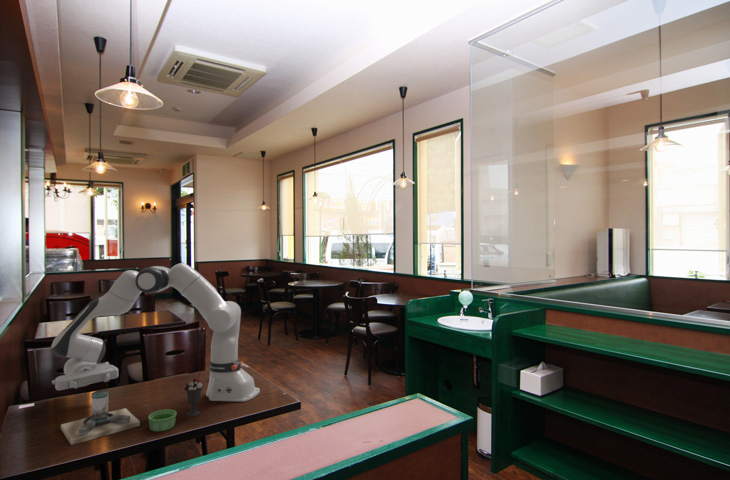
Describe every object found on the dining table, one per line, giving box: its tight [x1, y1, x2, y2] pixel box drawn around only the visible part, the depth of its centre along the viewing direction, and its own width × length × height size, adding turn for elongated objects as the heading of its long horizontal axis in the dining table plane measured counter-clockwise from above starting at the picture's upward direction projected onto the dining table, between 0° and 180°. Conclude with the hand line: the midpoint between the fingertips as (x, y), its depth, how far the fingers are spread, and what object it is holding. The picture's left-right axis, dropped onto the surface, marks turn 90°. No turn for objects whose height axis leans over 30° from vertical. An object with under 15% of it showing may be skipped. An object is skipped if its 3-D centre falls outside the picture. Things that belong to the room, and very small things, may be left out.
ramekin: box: [148, 408, 177, 432], centre depth 143 cm, size 9×9×4 cm
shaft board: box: [60, 408, 141, 446], centre depth 142 cm, size 20×16×4 cm
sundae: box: [183, 373, 205, 418], centre depth 154 cm, size 7×7×15 cm
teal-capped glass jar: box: [90, 389, 110, 423], centre depth 143 cm, size 5×5×10 cm
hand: (92, 382), depth 151 cm, fingers open, 8 cm apart
